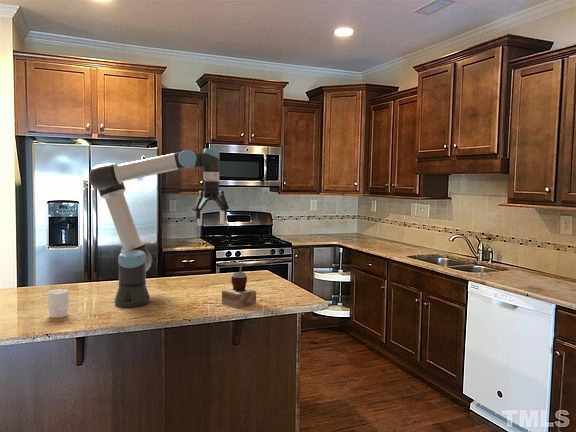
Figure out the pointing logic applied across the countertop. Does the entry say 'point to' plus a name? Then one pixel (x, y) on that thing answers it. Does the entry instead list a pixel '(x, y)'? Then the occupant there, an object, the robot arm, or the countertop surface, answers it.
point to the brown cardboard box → (238, 298)
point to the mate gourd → (239, 280)
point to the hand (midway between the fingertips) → (211, 224)
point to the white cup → (58, 303)
